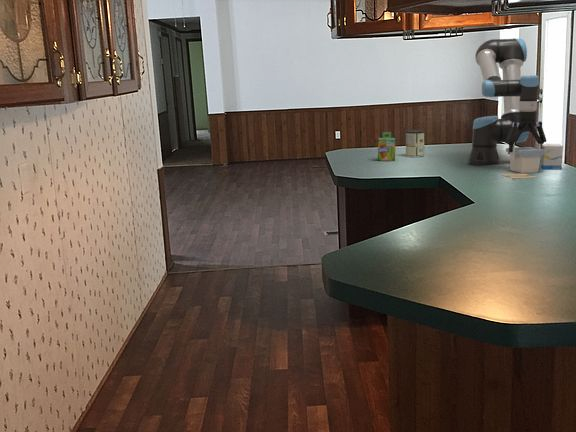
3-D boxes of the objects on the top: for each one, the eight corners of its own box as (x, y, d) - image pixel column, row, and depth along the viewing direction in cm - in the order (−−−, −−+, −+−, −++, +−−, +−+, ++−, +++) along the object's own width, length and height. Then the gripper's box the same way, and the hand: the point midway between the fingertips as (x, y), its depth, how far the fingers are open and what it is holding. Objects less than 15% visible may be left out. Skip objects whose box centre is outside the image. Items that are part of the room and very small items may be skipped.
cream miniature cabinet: (409, 154, 354) (409, 129, 351) (426, 155, 349) (427, 129, 346) (402, 156, 346) (402, 131, 343) (420, 157, 340) (420, 131, 337)
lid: (505, 154, 289) (506, 148, 288) (529, 152, 292) (529, 146, 291) (520, 157, 278) (520, 151, 277) (544, 156, 280) (545, 149, 279)
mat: (501, 176, 277) (501, 174, 276) (523, 175, 279) (523, 173, 279) (513, 180, 267) (513, 178, 267) (536, 178, 269) (537, 176, 269)
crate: (509, 171, 290) (511, 151, 288) (525, 170, 292) (526, 150, 290) (522, 174, 281) (523, 154, 279) (538, 173, 282) (539, 153, 280)
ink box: (561, 171, 287) (563, 145, 285) (542, 170, 289) (544, 145, 286) (557, 168, 296) (559, 143, 293) (538, 168, 297) (540, 143, 295)
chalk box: (377, 161, 331) (378, 133, 328) (377, 158, 340) (377, 131, 337) (395, 161, 330) (396, 133, 326) (394, 158, 339) (395, 131, 335)
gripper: (507, 112, 274) (504, 161, 279) (557, 110, 279) (553, 158, 284) (498, 111, 281) (496, 159, 286) (546, 109, 286) (543, 156, 291)
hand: (524, 158), depth 285 cm, fingers closed on lid, 12 cm apart
